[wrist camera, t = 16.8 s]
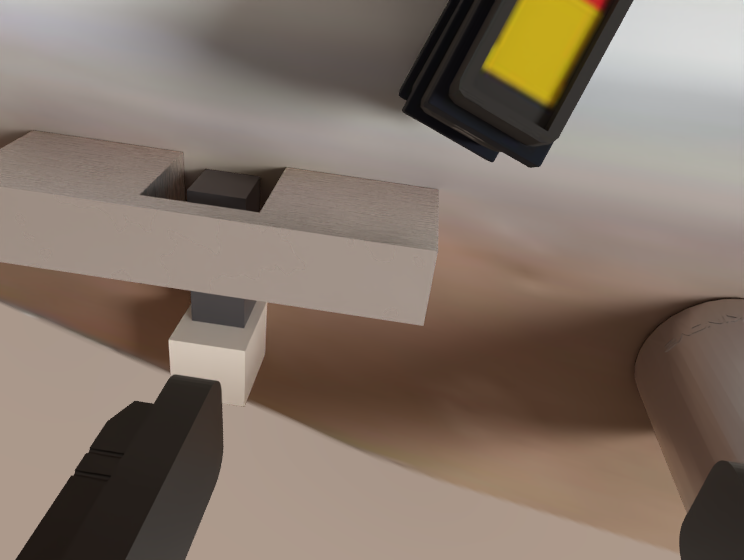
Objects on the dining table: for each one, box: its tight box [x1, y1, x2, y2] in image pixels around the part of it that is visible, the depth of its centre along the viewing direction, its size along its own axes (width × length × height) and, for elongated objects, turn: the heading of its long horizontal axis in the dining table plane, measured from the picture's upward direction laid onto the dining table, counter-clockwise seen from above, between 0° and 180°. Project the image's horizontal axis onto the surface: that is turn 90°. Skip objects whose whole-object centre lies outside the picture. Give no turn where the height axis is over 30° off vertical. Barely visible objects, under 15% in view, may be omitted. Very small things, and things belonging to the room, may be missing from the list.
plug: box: [169, 169, 267, 407], centre depth 36 cm, size 13×4×5 cm, turn 173°
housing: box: [0, 130, 439, 326], centre depth 32 cm, size 4×22×7 cm, turn 83°
